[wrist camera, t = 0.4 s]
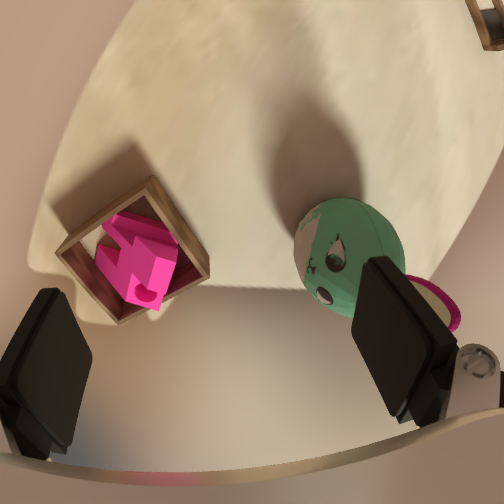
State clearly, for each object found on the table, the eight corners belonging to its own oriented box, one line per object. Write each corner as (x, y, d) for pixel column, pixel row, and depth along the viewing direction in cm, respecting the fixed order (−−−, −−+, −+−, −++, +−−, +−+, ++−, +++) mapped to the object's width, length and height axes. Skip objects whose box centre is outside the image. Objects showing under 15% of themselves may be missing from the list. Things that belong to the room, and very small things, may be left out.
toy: (293, 179, 46) (397, 310, 20) (390, 194, 49) (520, 302, 23) (276, 267, 53) (332, 429, 26) (365, 271, 55) (454, 402, 29)
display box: (68, 234, 45) (54, 253, 40) (153, 175, 43) (145, 187, 37) (125, 302, 52) (118, 325, 47) (209, 256, 50) (209, 278, 45)
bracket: (182, 227, 48) (176, 262, 39) (164, 281, 52) (156, 322, 43) (107, 204, 44) (85, 233, 35) (96, 260, 48) (76, 297, 39)
